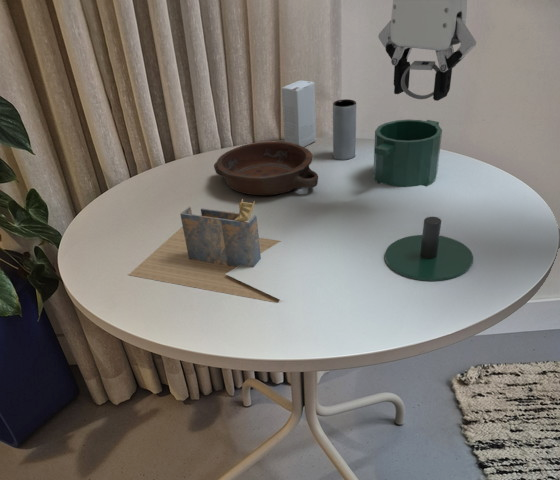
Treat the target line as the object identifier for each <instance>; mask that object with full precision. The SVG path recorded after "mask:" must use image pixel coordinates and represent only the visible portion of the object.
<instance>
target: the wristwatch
mask: <svg viewBox="0 0 560 480" xmlns="http://www.w3.org/2000/svg"><path fill="white" fill-rule="evenodd" d="M409 69H410V71H411V70H412V71H413V70H415V71H435V73H436V72H437V71H439V69H440V68H439V65H437V64H436V61H434V60H414V61H412V63H410V66H409V67H408V68H407V69H406V70H405V72H404V74H403V75H402V78H401V87H402V89H403V91H404V92H403V93H405V94H406V95H407V96H409V97H411V98H413V99H416V100H427V99H429V98H432V97H433V94H434V91H432V92H430V93H427V94H423V95H422V94H417V93H414V92H412V91H411V90H410V89H409V88H407V87H406V85H405V76H406V74H407V72H408V70H409Z"/></svg>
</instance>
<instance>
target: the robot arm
mask: <svg viewBox="0 0 560 480" xmlns="http://www.w3.org/2000/svg"><path fill="white" fill-rule="evenodd" d="M467 11H468V0H392V7H391V17H390V20H389V22H387V24H386V25H385V26H384V28H382V29H381V31H380V32H379V34H378V40H379V41H380V42H381V44H382V46H383V47H384V48H385V52H386V53H387V55H388V57H389V58H390V63H391V65H392V66H393V67H394V69H393V87H394V88H393V94H394V95H400V94H402V93H405V92H404V91H403V89H402V87H401V78H402V75H403V74H404V72H405V70H406V69H407V68H408V67H409V66H410V65H411V61H408V59H409V56H410V54H411V51H412V49H420V50H427V51H428V50H429V51H435V54H436V60H437V64H438V68H439V71H437V72H436V71H435V74H434V75H435V76H434V83H433V84H434V85H433V92H434V94H433V96H432V100H434V101H436V102H439V101H440V100H442V99H445V98H446V97H447V96H448V94H449V92H450V89H451V82H452V74H453V69H454V68H455V67H456V66H457V65H458V64H459V63H460V62H461V61H463V59H464V58H465V56H466V55H468V53H470V52H471V51H472V50H473V49H474V48H475V47H476V45H477V41H476V38H474V36H473V35H472V33H471V31H470V30H469V29H468V26H467V23H466V22H467ZM458 44H460V45H459V47H458V49H456V50H455V49H454V46H455V45H458ZM410 74H411V69H409V70H408V72H407V74H406V76H405V85H406V87H407V88H408V89H409V88H410Z"/></svg>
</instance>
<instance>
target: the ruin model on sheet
mask: <svg viewBox="0 0 560 480" xmlns="http://www.w3.org/2000/svg"><path fill="white" fill-rule="evenodd" d="M255 204H256V201H255V200H253V202H247V201H246V202H245V201H244V199H243V198H242V199H241V201H240V203H238V208H239V209H238V210H239V212H233V211H225V210H218V209H212V208H211V209H209V208H203V207H201V208H200V214H201V215H198V214H193V212H192V206H187V208H185V209H184V210H183V211H181V213H179V215H180V220H181V227H180V228H179V229H177V231H175V233H173V234H172V235H171V236H170V237H168V239H167V240H165V241H164V242H163V243H162V244H161V245H160V246H159V247H158V248H156V249H155V250H154V251H153V252H152V253H150V255H148V257H146V258H145V259H144V260H143V261H142V262H141V263H139V265H138V266H136V267H135V268H134V269H133V270H132V271H131V272H130V273H128V276H132V277H138V278H143V279H148V280H155V281H159V282H164V283H170V284H175V285H181V286H185V287H191V288H197V289H202V290H207V291H214V292H218V293H224V294H228V295H235V296H239V297H246V298H250V299H251V298H252V299H255V300H262V301H266V302H267V301H268V302H273V303H279V302H280V300H281V299H279V298H277V297H275V296H273V295H271V294H269V293H267V292H265V291H263V290H260V289H258V288H257V287H254V286H251V285H250V284H247V283H245V282H243V281H241V280H239V279H236V278H235V277H232V276H230V275H229V274H228V273H229V272H232V271H233V270H235V269H237V268H238V267H240V266H244V267H250V268H255V266H256V265H258V263H259V262H260V261H261V259H262V257H261V254H262V253H264V252H265V251H267V250H269V249H270V248H272V247H274V246H276V245H277V244H279V243H281V242H282V240H277V239H270V238H264V237H259V235H260V234H259V226H258V216H257V215H256V214H254V215H253V216H251V215H252V213H253V211H254V208H255ZM250 217H251V218H250Z"/></svg>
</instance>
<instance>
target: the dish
mask: <svg viewBox="0 0 560 480" xmlns="http://www.w3.org/2000/svg"><path fill="white" fill-rule="evenodd" d="M313 159H314V156H313V153H312V152H311V150H309V149H308V148H307V147H302V146H300V145H297V144H293V143H289V142H285V141H277V140H276V141H261V142H260V141H259V142H253V143H252V142H251V143H247V144H244V145H241V146H238V147H235V148H233V149H231V150H228V151H226V152H224V153H223V154H221V155H220V156H219V157H218V159H217V160H216V162H215V163H214V165H213V168H214V171H215V173H216V174H217V175H218V176H221V177H223V178H224V181H225V182H226V184H227V185H228V186H229V187H230V188H231V189H232V190H234V191H236V192H239V193H242V194H247V195H254V196H273V195H279V194H286V193H288V192H291V191H294V190H295V189H312V188H315V187H316V186H318V183H319V175H318V173H317V172H316V171H314V170H313V169H311V168H310V165H311V164H312V162H313Z"/></svg>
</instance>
